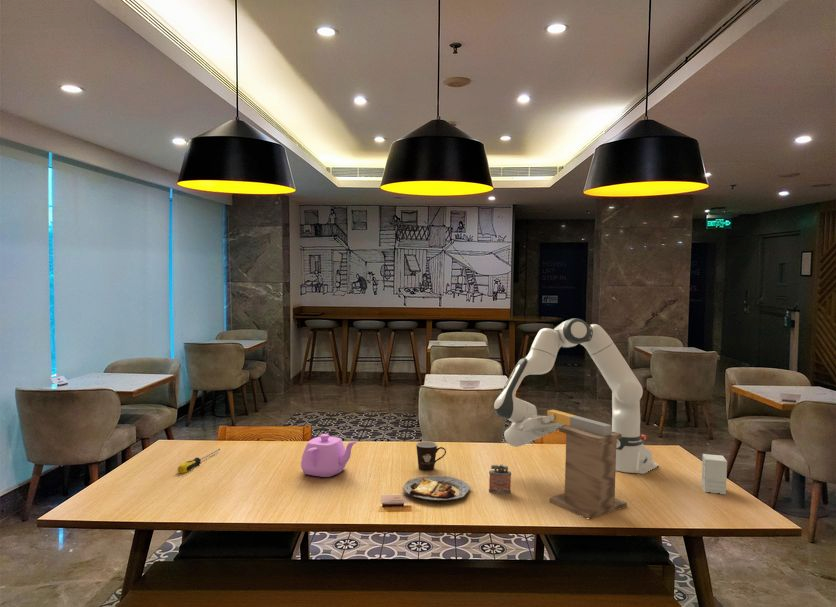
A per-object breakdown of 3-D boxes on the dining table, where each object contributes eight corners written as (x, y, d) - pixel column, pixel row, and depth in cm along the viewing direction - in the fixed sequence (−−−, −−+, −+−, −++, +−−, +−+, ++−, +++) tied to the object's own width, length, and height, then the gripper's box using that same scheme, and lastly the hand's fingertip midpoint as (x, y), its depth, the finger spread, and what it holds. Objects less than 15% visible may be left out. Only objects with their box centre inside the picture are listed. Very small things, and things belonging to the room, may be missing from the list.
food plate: (457, 509, 190) (457, 499, 190) (393, 499, 198) (393, 489, 198) (475, 486, 213) (476, 477, 213) (418, 478, 221) (418, 470, 221)
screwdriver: (184, 466, 219) (223, 445, 249) (176, 465, 220) (216, 444, 249) (184, 474, 219) (223, 453, 249) (176, 474, 220) (216, 452, 250)
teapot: (288, 479, 216) (289, 440, 216) (317, 462, 236) (317, 427, 235) (341, 487, 208) (341, 447, 208) (366, 470, 228) (366, 433, 227)
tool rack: (587, 490, 209) (589, 421, 208) (626, 506, 194) (629, 432, 193) (549, 501, 198) (551, 428, 197) (587, 519, 184) (590, 440, 183)
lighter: (510, 490, 208) (511, 464, 207) (511, 494, 204) (511, 467, 204) (488, 489, 208) (489, 463, 208) (488, 493, 205) (489, 466, 205)
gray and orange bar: (553, 418, 212) (553, 409, 211) (610, 435, 190) (611, 425, 190) (547, 419, 210) (547, 410, 210) (604, 436, 188) (604, 426, 188)
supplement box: (722, 488, 214) (723, 455, 213) (726, 495, 207) (727, 461, 206) (701, 485, 216) (702, 453, 216) (704, 492, 209) (705, 458, 209)
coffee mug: (412, 470, 229) (413, 445, 228) (420, 463, 237) (420, 440, 236) (439, 474, 224) (439, 449, 224) (446, 467, 232) (447, 443, 232)
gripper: (512, 422, 213) (535, 410, 203) (550, 416, 224) (574, 404, 214) (518, 438, 210) (541, 427, 200) (556, 431, 222) (580, 420, 211)
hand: (559, 415), depth 207 cm, fingers closed on gray and orange bar, 3 cm apart
